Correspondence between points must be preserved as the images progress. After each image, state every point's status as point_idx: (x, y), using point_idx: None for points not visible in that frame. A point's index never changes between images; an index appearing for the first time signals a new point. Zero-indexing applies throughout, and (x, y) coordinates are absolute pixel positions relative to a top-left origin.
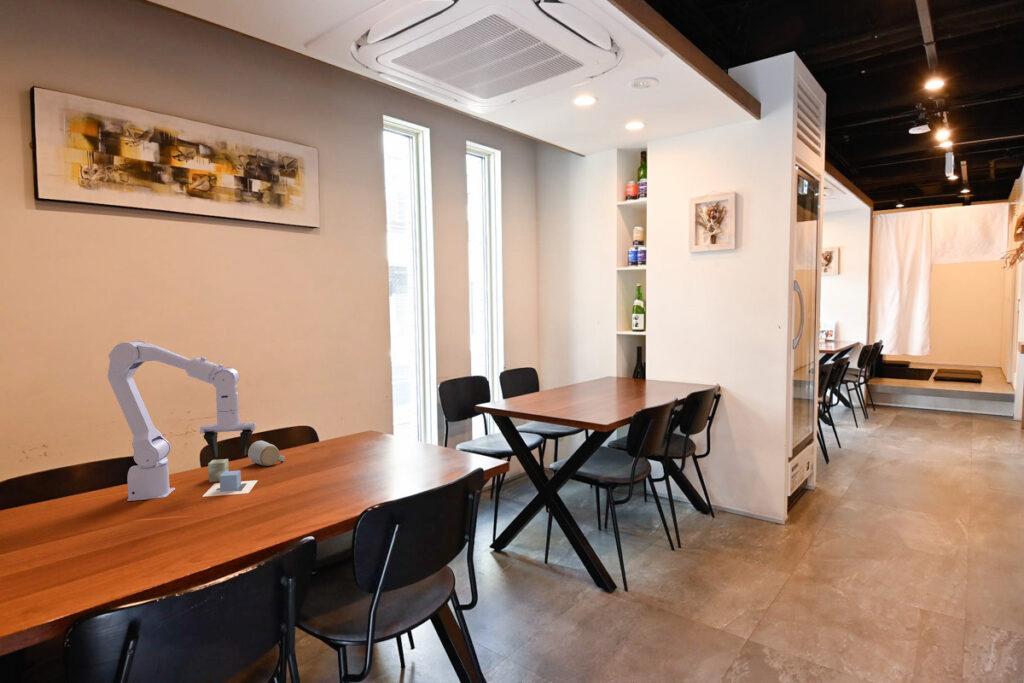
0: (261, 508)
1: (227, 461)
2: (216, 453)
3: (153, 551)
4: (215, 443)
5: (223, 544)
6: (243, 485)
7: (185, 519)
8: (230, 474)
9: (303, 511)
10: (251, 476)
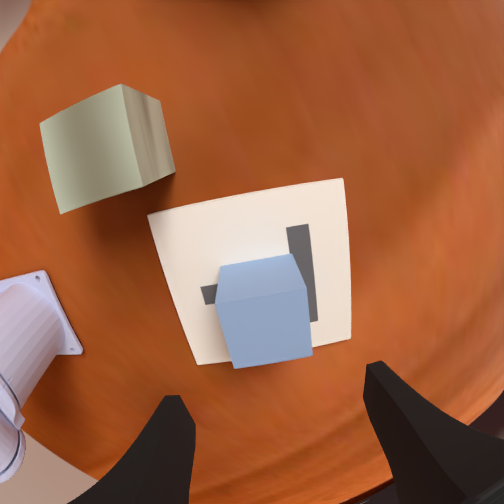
0: None
1: (129, 105)
2: (184, 430)
3: (267, 498)
4: (169, 493)
5: (351, 482)
6: (303, 255)
7: (247, 454)
8: (278, 350)
9: (459, 399)
10: (272, 85)
